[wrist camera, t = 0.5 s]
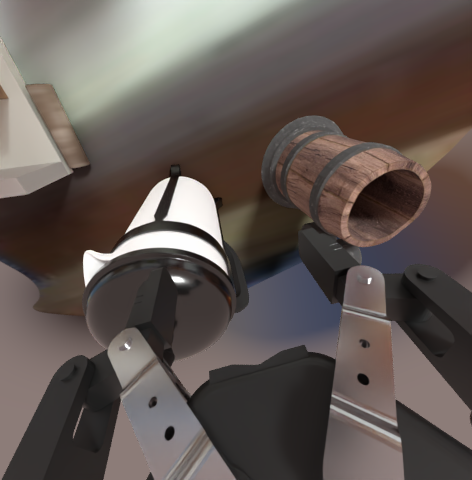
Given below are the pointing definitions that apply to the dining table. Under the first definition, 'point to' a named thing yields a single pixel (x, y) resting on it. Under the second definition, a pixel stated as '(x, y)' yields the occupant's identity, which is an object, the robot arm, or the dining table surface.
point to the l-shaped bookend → (24, 138)
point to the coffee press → (169, 268)
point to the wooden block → (58, 124)
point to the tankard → (344, 183)
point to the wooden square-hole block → (2, 94)
